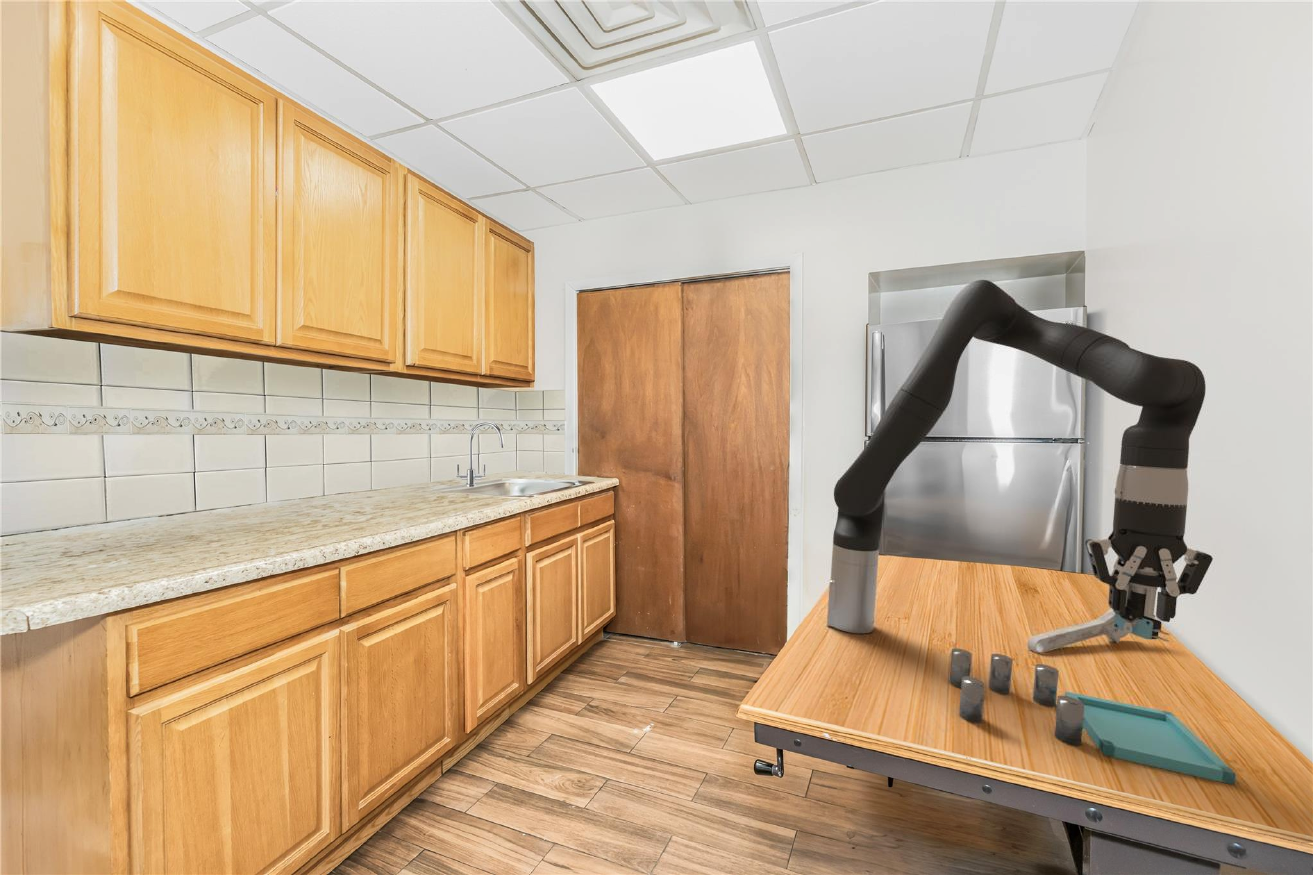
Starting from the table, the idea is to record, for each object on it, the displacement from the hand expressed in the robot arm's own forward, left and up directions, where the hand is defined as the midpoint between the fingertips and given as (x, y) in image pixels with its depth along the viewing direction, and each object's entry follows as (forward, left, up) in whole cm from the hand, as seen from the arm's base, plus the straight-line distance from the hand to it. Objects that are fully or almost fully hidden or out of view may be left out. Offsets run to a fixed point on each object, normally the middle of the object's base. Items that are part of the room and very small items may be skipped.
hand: (1140, 616), depth 76 cm
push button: (0, 0, -3) cm, 3 cm away
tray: (+1, 0, -18) cm, 18 cm away
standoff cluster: (-15, 0, -18) cm, 23 cm away
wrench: (+6, +38, -18) cm, 42 cm away
